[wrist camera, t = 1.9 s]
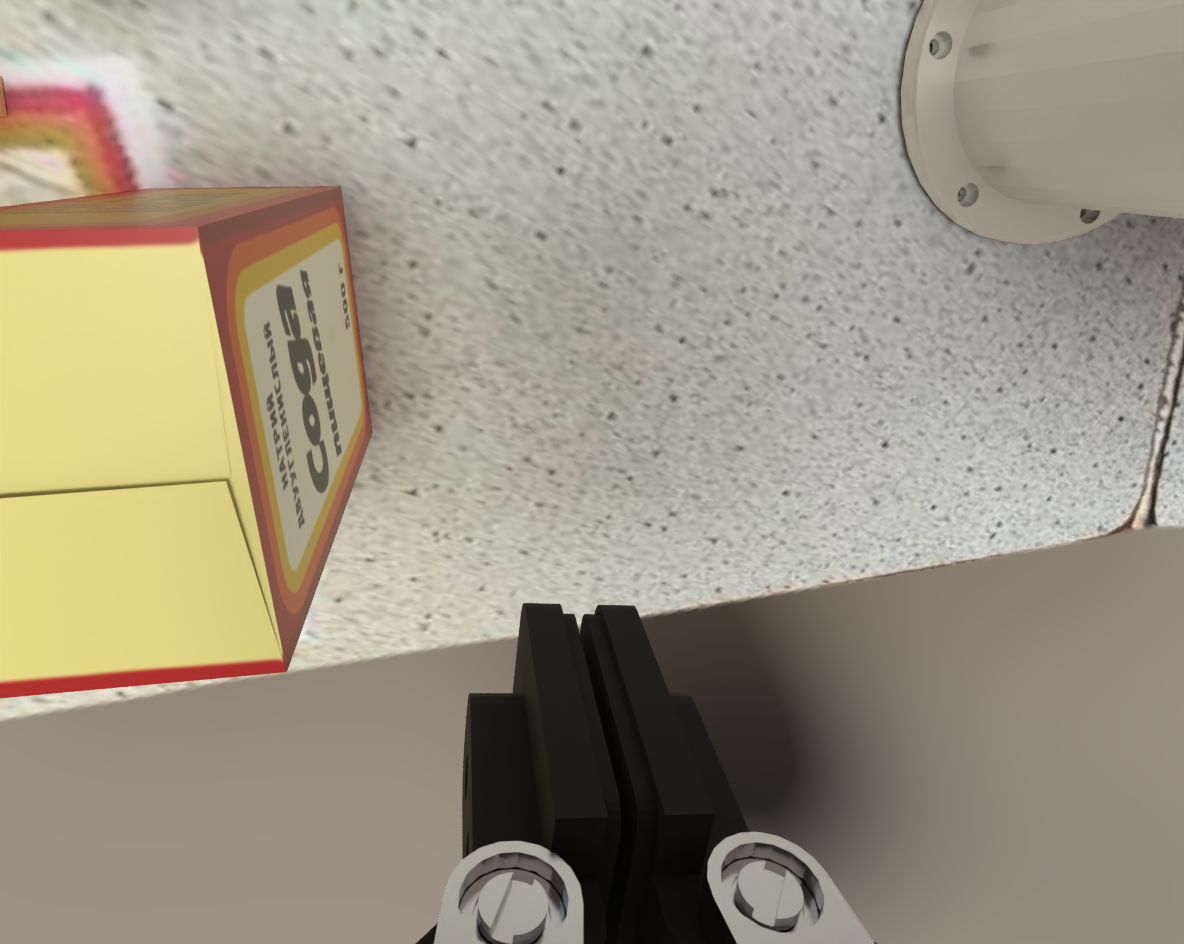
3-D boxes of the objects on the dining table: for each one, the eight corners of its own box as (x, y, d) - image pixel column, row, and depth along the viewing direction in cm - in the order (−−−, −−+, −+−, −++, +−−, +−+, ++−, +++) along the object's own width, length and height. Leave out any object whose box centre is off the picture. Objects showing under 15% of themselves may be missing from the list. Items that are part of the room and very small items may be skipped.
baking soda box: (148, 188, 27) (-246, 237, 12) (340, 186, 27) (189, 229, 13) (204, 441, 30) (-46, 713, 16) (372, 432, 31) (282, 682, 17)
